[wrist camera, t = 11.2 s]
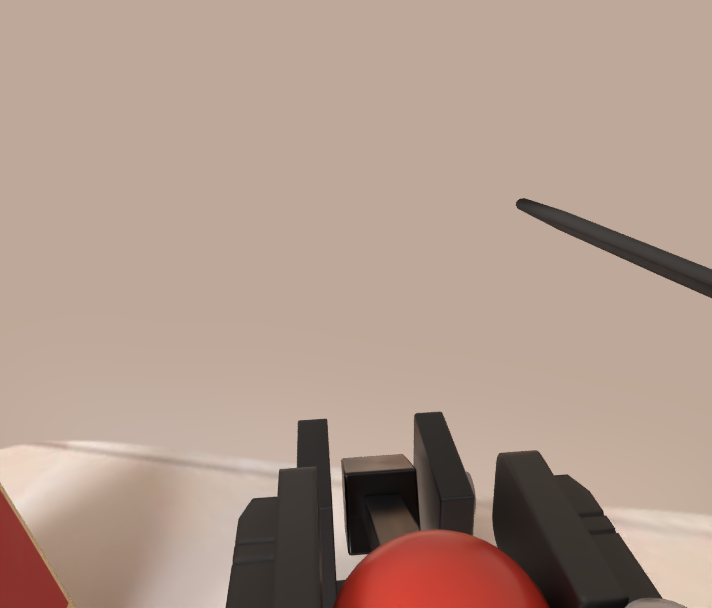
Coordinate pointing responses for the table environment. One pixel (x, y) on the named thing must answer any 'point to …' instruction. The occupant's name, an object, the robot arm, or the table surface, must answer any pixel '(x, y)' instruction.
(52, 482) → the table surface
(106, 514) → the table surface
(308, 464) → the bracket
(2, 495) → the milk carton
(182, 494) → the table surface
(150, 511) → the table surface
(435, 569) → the lever
